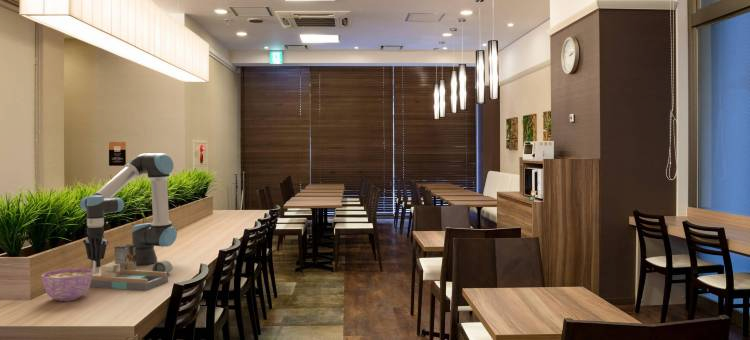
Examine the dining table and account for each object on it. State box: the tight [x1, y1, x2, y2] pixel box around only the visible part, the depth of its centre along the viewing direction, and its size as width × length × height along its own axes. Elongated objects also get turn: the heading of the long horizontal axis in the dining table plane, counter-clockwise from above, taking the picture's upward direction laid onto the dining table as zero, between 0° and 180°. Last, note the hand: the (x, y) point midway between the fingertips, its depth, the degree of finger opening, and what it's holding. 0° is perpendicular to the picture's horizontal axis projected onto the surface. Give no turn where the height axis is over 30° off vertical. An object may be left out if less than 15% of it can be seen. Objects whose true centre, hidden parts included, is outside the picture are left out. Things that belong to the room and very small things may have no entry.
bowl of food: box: [41, 267, 94, 302], centre depth 233 cm, size 20×20×12 cm
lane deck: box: [89, 269, 169, 291], centre depth 260 cm, size 18×32×5 cm, turn 77°
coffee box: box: [114, 243, 137, 270], centre depth 277 cm, size 9×6×16 cm
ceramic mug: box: [151, 260, 173, 275], centre depth 280 cm, size 11×8×8 cm
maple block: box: [100, 263, 120, 277], centre depth 262 cm, size 6×6×6 cm
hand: (96, 273), depth 264 cm, fingers closed
